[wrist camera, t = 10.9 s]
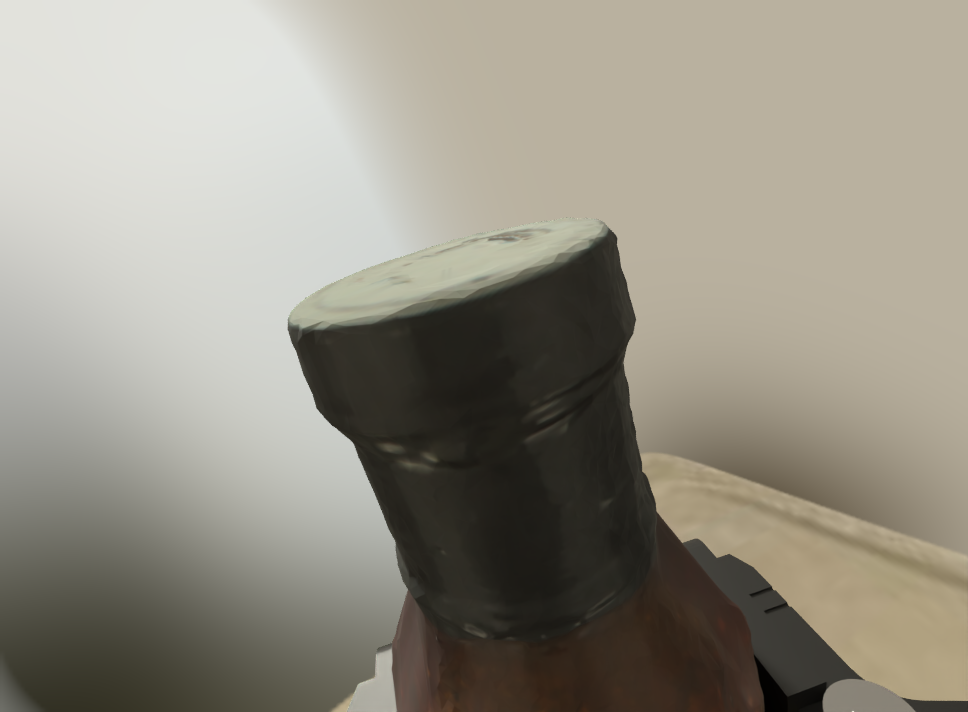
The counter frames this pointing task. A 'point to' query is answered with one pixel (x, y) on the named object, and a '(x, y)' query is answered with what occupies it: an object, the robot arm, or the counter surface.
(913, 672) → the counter surface
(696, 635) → the sauce bottle
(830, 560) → the counter surface
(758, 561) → the counter surface
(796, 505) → the counter surface
